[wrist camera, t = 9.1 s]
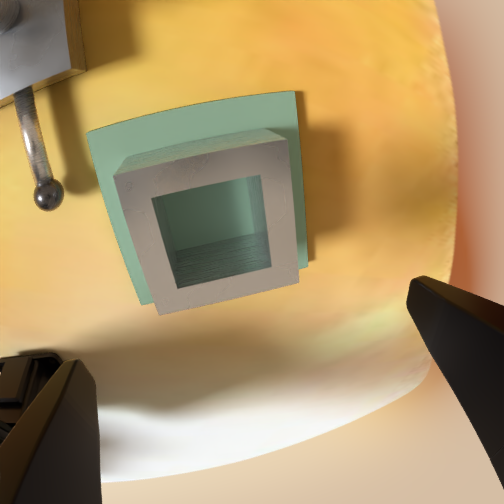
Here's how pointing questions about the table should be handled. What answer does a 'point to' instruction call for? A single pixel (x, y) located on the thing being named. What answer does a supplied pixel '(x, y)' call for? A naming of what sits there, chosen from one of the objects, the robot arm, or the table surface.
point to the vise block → (38, 74)
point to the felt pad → (205, 197)
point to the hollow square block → (221, 252)
